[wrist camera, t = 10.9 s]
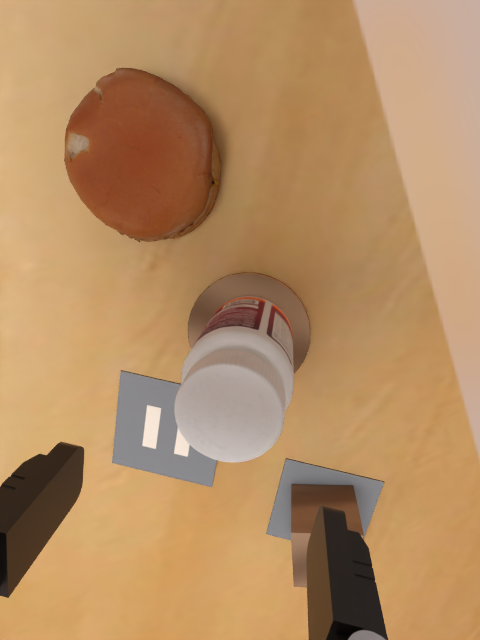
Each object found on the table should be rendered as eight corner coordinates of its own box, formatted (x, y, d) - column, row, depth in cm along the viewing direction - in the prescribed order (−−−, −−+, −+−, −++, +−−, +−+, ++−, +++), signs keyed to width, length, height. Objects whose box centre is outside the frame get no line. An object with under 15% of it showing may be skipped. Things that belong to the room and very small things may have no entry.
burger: (231, 230, 27) (219, 236, 23) (107, 243, 29) (73, 251, 24) (213, 71, 25) (195, 42, 20) (77, 94, 26) (32, 72, 22)
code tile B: (286, 458, 32) (285, 459, 32) (383, 481, 31) (384, 482, 31) (266, 533, 34) (266, 534, 34) (356, 556, 34) (357, 557, 34)
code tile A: (121, 370, 31) (120, 371, 31) (229, 395, 31) (229, 396, 31) (112, 462, 34) (111, 463, 34) (212, 486, 34) (211, 487, 34)
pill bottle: (195, 347, 29) (139, 431, 19) (235, 277, 27) (198, 327, 17) (265, 388, 30) (251, 494, 19) (309, 321, 28) (321, 399, 17)
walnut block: (291, 484, 32) (291, 532, 28) (353, 485, 32) (364, 535, 27) (293, 532, 34) (293, 586, 29) (353, 534, 33) (363, 590, 28)
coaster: (199, 261, 28) (197, 262, 27) (323, 286, 27) (323, 288, 27) (182, 373, 31) (180, 376, 30) (294, 398, 30) (294, 402, 30)
